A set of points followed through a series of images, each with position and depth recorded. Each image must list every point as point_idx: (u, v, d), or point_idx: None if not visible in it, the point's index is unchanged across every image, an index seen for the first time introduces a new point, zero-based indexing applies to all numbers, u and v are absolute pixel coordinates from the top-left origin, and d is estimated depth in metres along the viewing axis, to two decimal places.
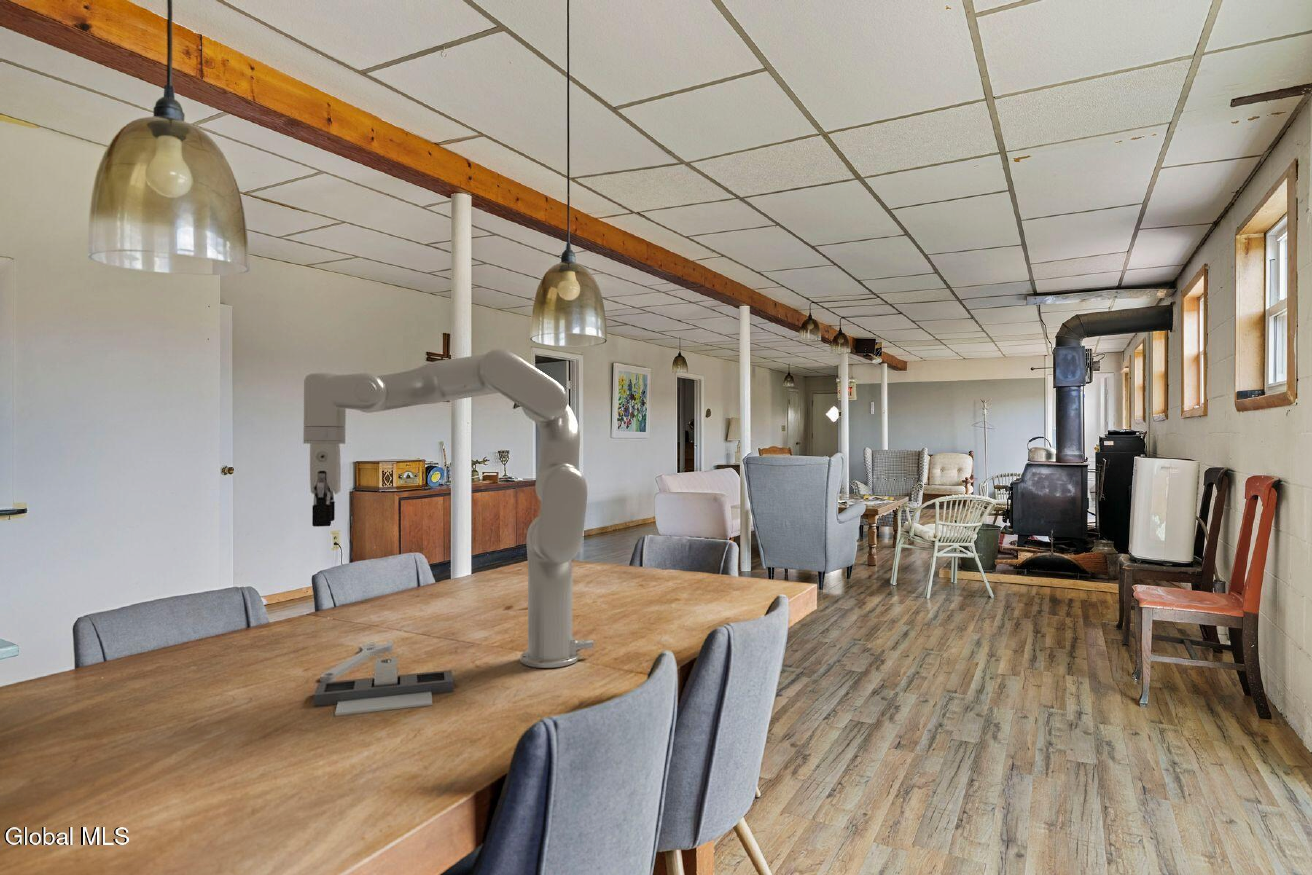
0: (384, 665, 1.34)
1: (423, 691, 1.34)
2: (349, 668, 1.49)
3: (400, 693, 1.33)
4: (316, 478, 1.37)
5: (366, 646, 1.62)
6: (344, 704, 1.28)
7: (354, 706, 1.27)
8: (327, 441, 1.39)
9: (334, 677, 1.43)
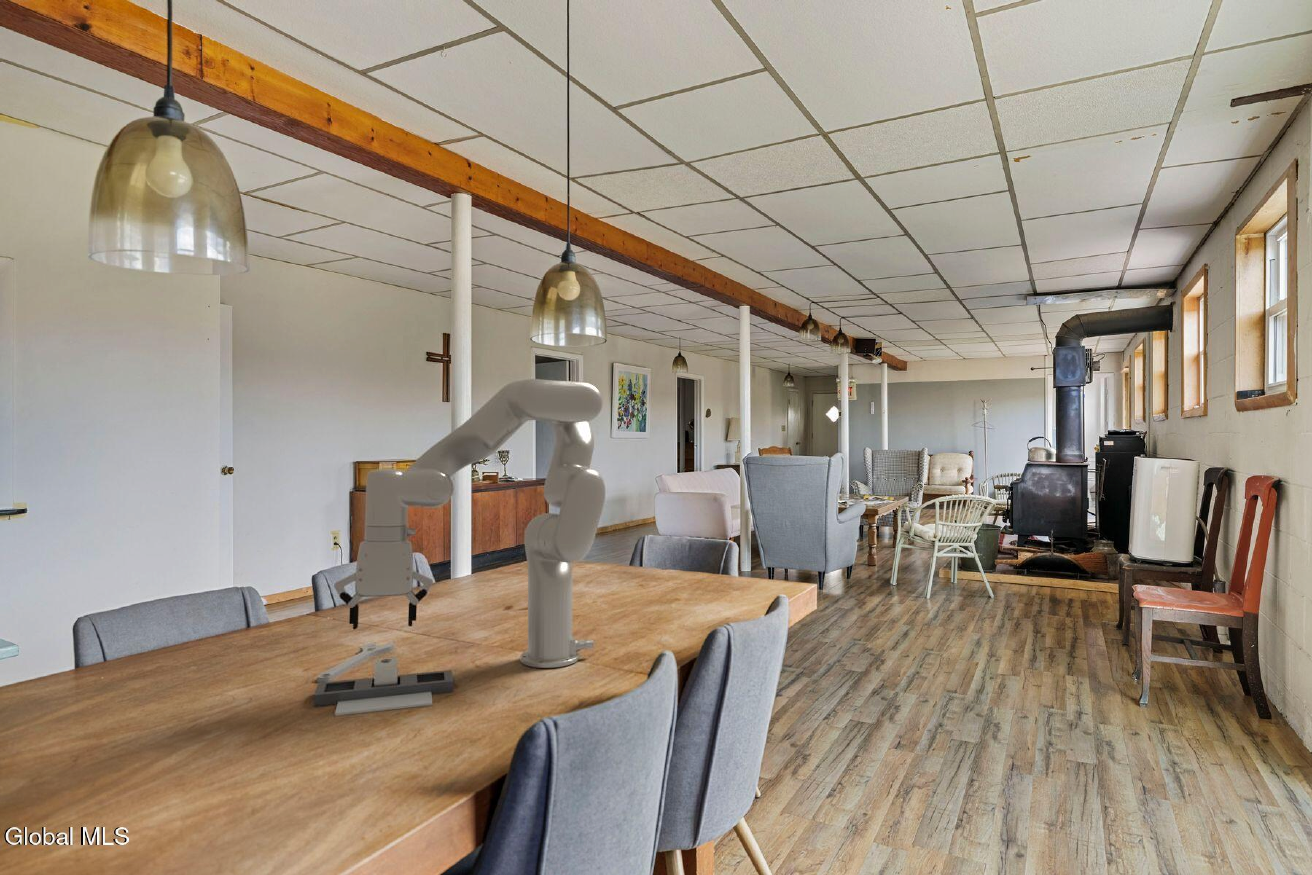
0: (384, 665, 1.34)
1: (423, 691, 1.34)
2: (347, 669, 1.49)
3: (400, 693, 1.33)
4: (413, 577, 1.36)
5: (367, 646, 1.62)
6: (344, 704, 1.28)
7: (354, 706, 1.27)
8: None
9: (331, 678, 1.43)
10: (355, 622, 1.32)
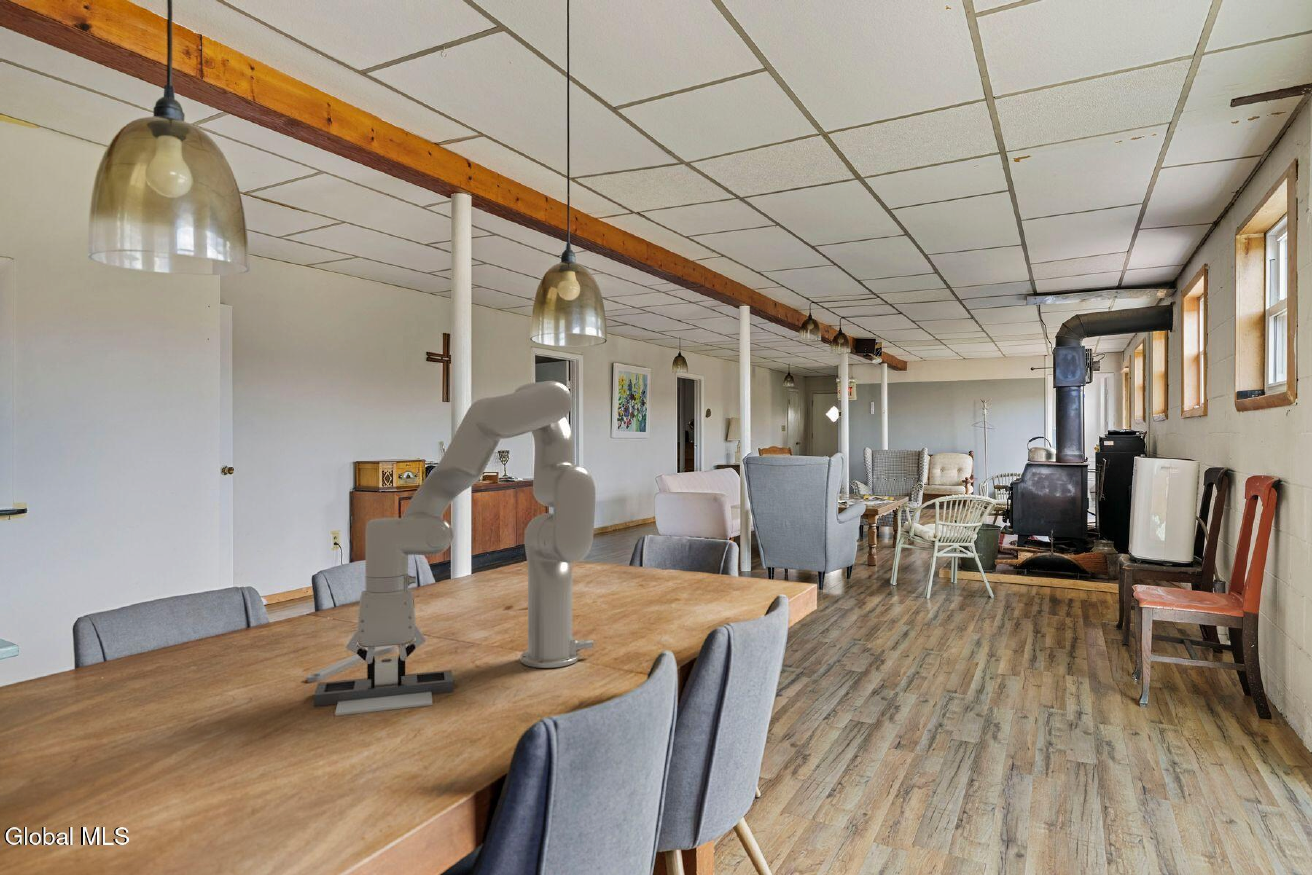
0: (384, 664, 1.34)
1: (423, 691, 1.34)
2: (340, 669, 1.48)
3: (400, 693, 1.33)
4: (414, 625, 1.36)
5: None
6: (344, 704, 1.28)
7: (354, 706, 1.27)
8: None
9: (321, 678, 1.43)
10: (373, 678, 1.33)
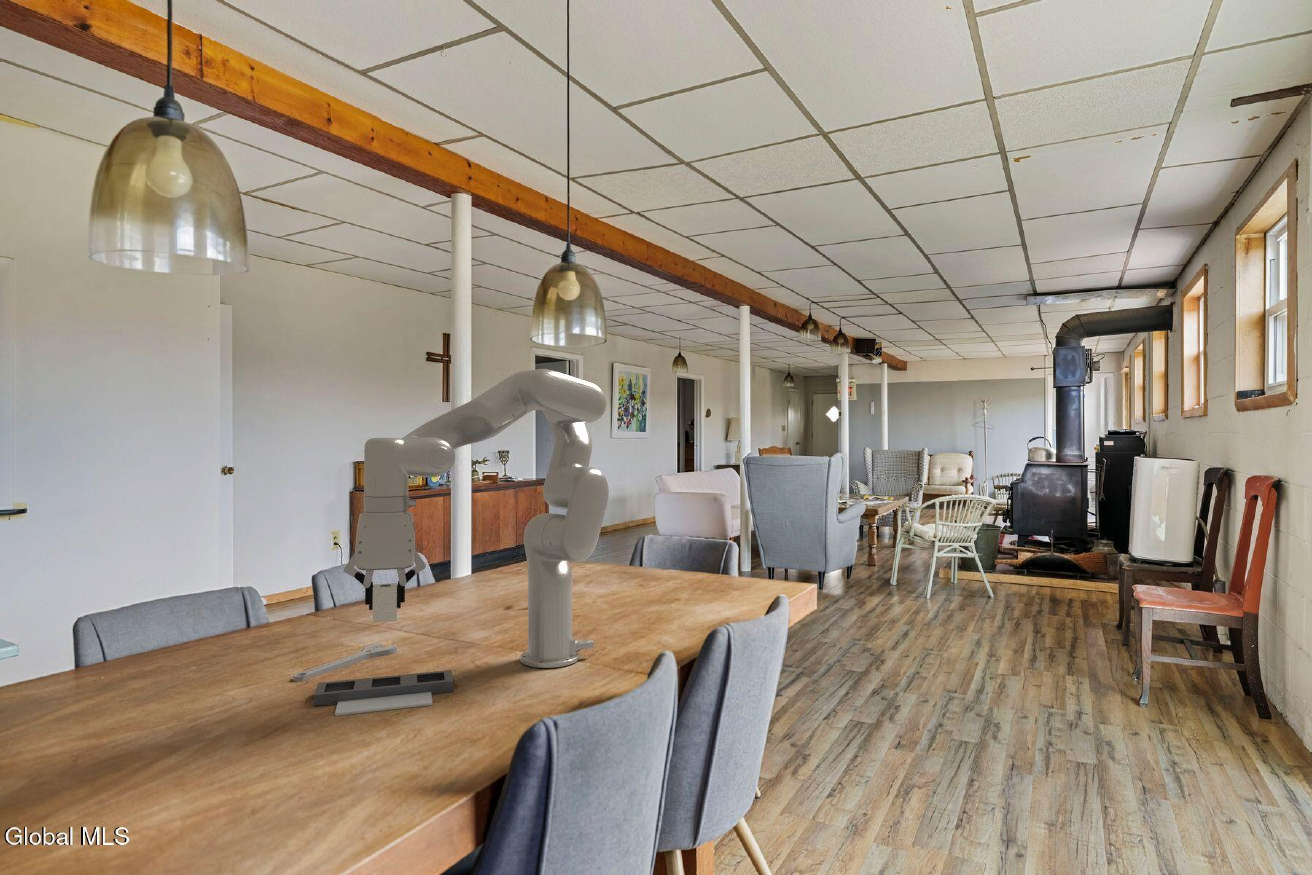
0: (383, 589, 1.28)
1: (423, 691, 1.34)
2: (330, 669, 1.48)
3: (400, 693, 1.33)
4: (415, 550, 1.31)
5: (369, 647, 1.61)
6: (344, 704, 1.28)
7: (354, 706, 1.27)
8: None
9: (306, 677, 1.43)
10: (371, 603, 1.28)
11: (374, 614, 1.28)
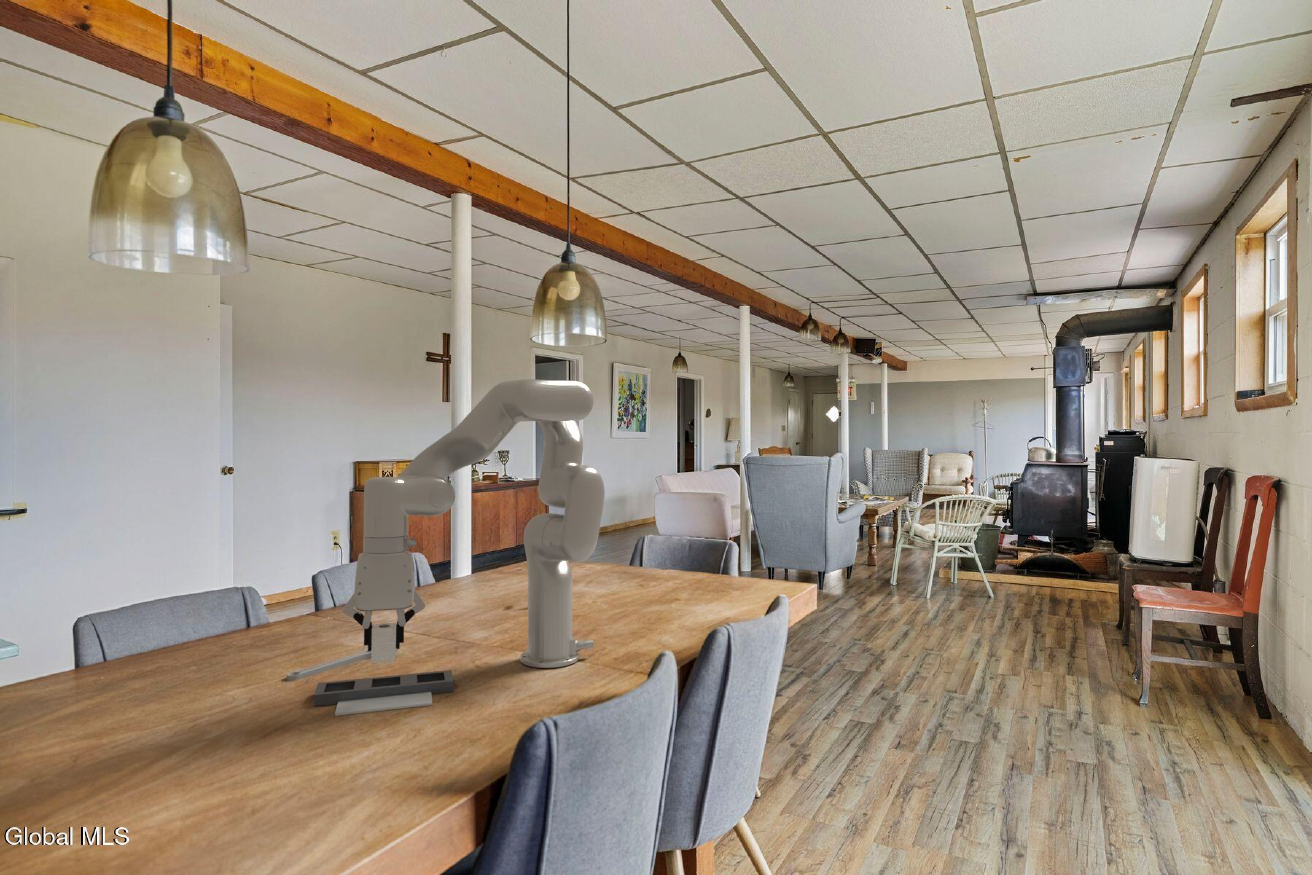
0: (382, 630, 1.27)
1: (423, 691, 1.34)
2: (325, 669, 1.48)
3: (400, 693, 1.33)
4: (414, 590, 1.30)
5: None
6: (344, 704, 1.28)
7: (354, 706, 1.27)
8: None
9: (299, 677, 1.43)
10: (370, 644, 1.27)
11: (373, 655, 1.27)
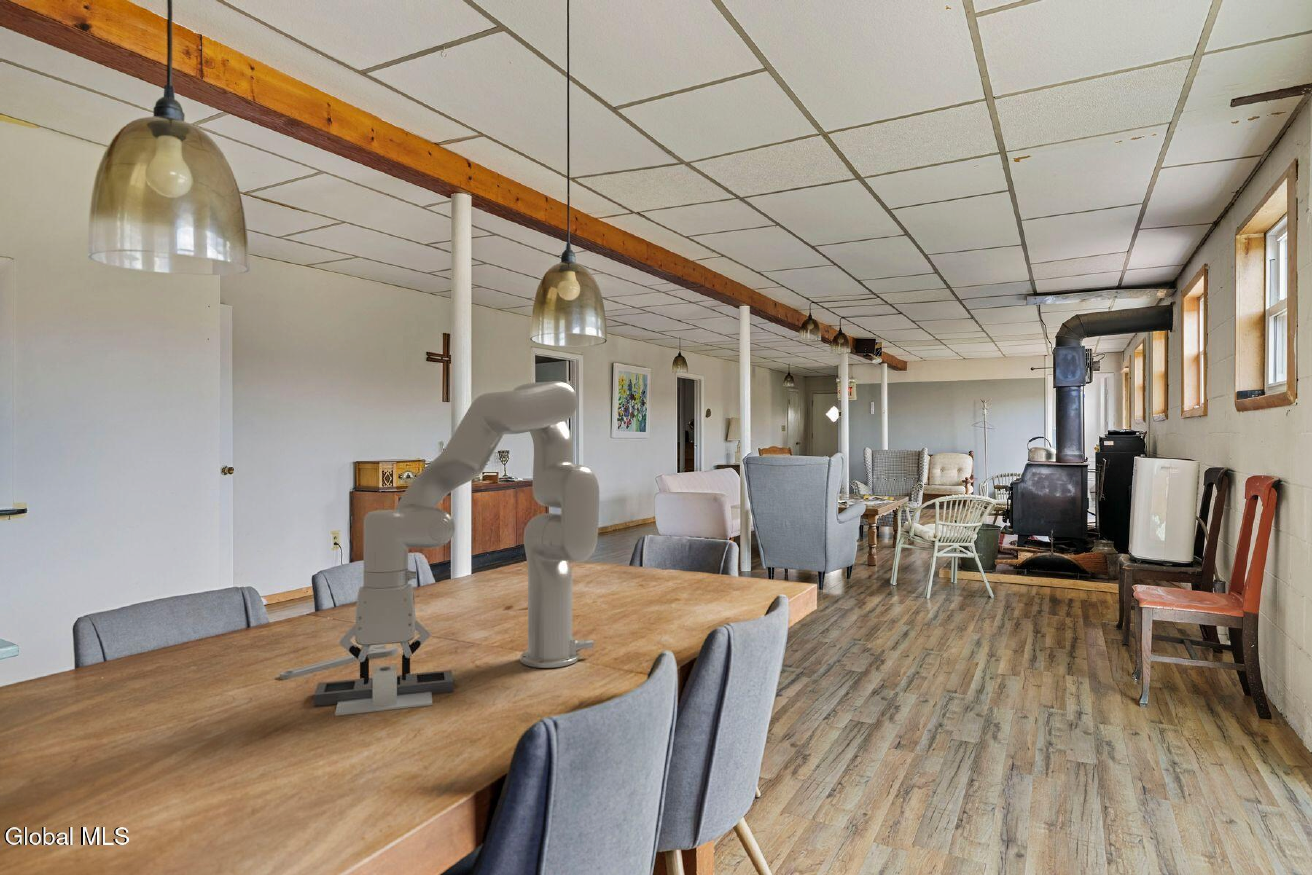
0: (383, 673, 1.27)
1: (423, 691, 1.34)
2: (320, 669, 1.48)
3: (400, 693, 1.33)
4: (415, 623, 1.30)
5: (370, 648, 1.61)
6: (344, 704, 1.28)
7: (354, 706, 1.27)
8: None
9: (292, 676, 1.44)
10: (366, 677, 1.27)
11: (374, 699, 1.27)
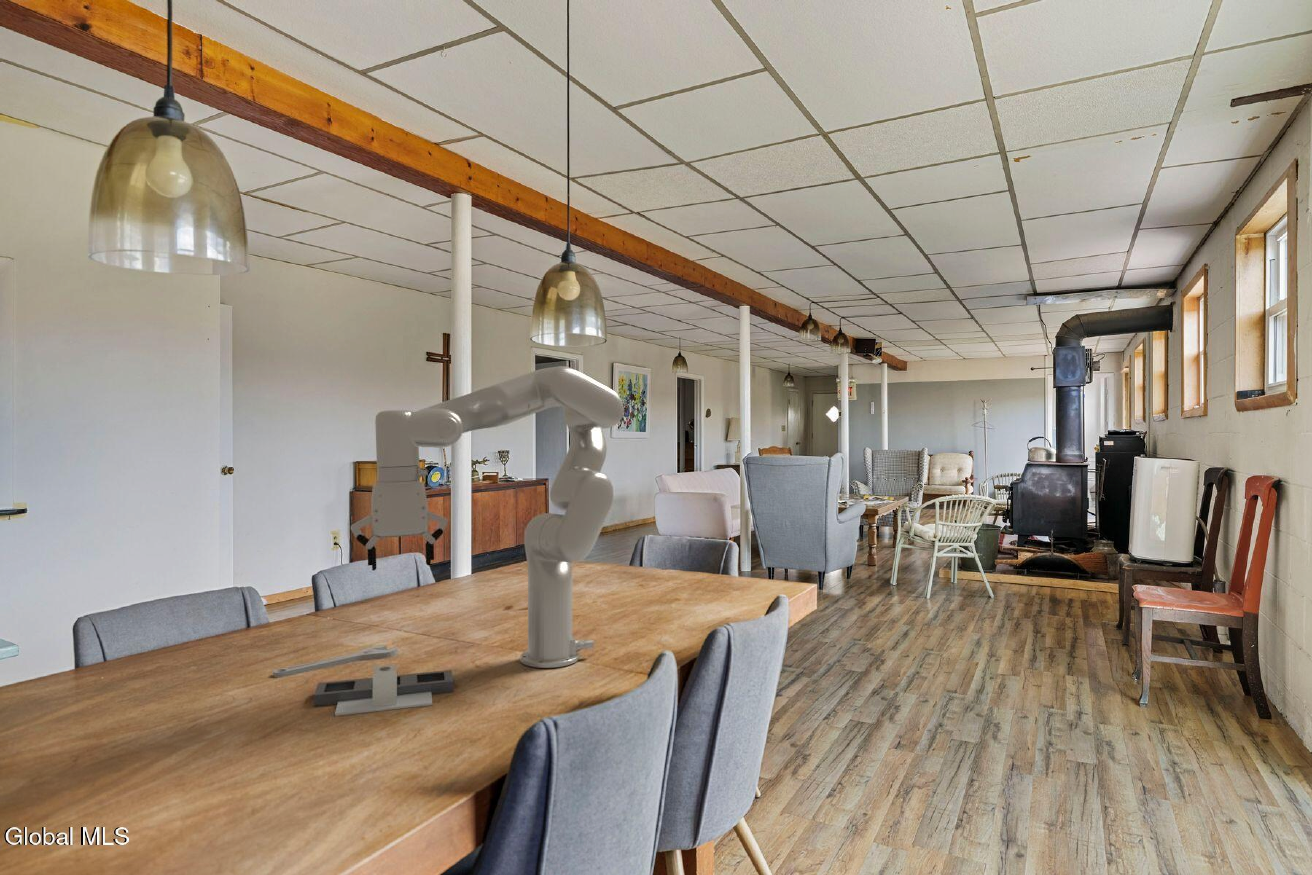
0: (383, 673, 1.27)
1: (423, 691, 1.34)
2: (314, 668, 1.49)
3: (400, 693, 1.33)
4: (428, 517, 1.37)
5: (370, 648, 1.60)
6: (344, 704, 1.28)
7: (354, 706, 1.27)
8: None
9: (284, 674, 1.45)
10: (374, 563, 1.33)
11: (374, 699, 1.27)
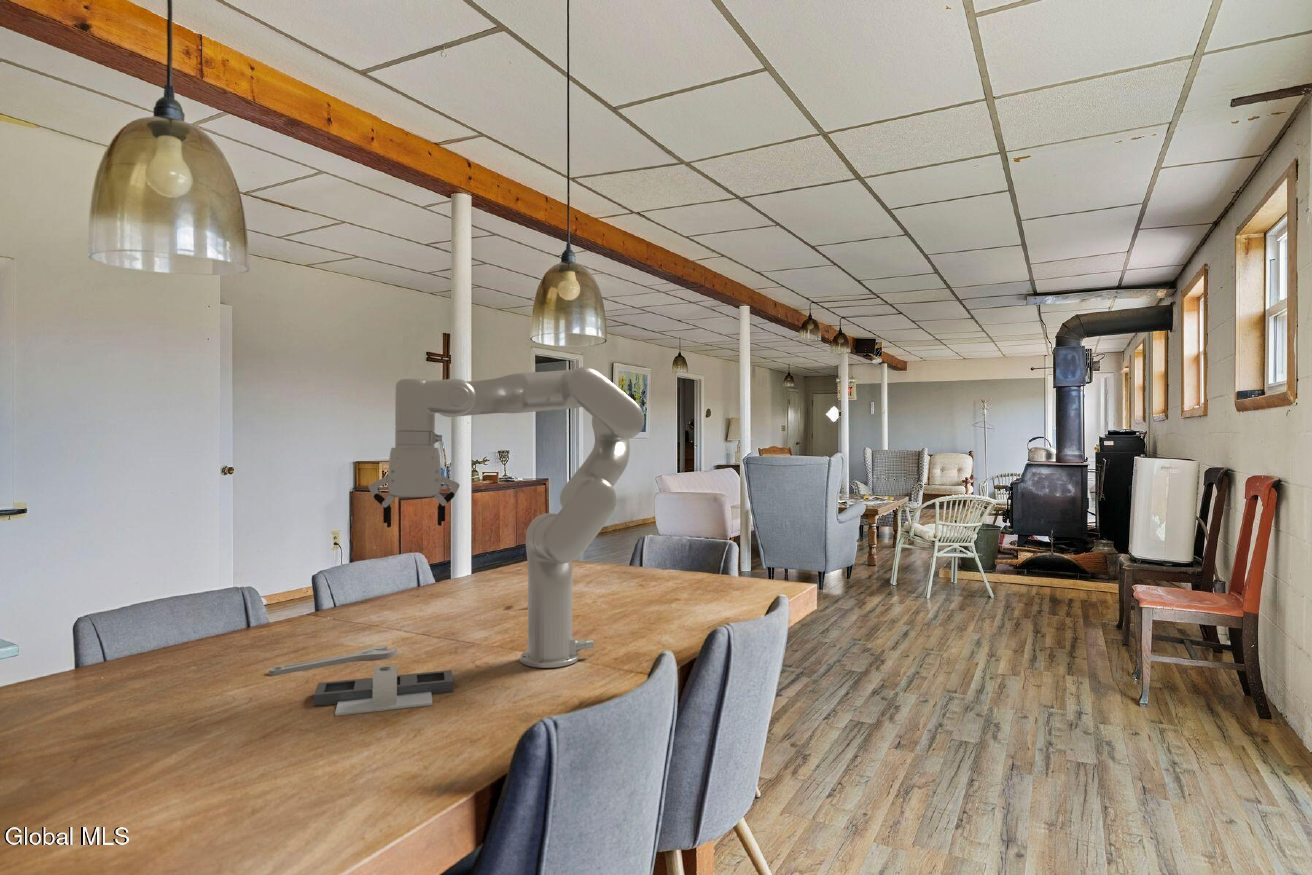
0: (383, 673, 1.27)
1: (423, 691, 1.34)
2: (310, 667, 1.50)
3: (400, 693, 1.33)
4: (441, 480, 1.45)
5: (370, 649, 1.60)
6: (344, 704, 1.28)
7: (354, 706, 1.27)
8: None
9: (278, 672, 1.46)
10: (389, 521, 1.42)
11: (374, 699, 1.27)
